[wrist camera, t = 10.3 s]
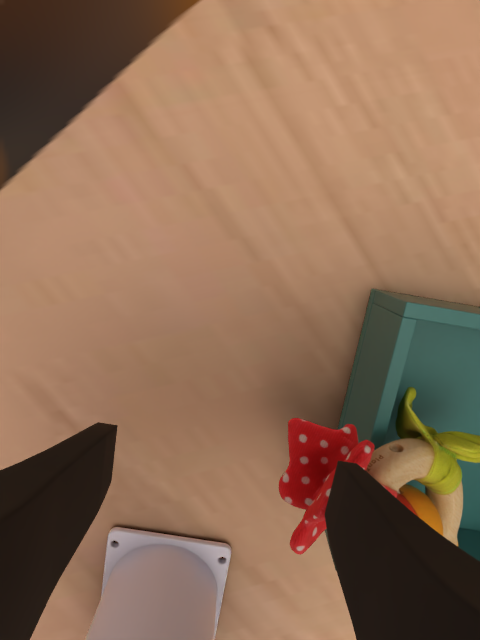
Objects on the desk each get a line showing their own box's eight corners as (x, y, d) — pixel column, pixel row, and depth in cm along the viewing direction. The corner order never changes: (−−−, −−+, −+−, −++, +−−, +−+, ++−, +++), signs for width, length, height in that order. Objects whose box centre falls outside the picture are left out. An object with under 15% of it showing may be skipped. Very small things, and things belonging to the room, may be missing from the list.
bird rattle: (539, 565, 18) (537, 384, 16) (392, 764, 12) (364, 514, 10) (414, 501, 23) (403, 359, 21) (271, 618, 17) (240, 436, 15)
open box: (504, 536, 24) (564, 605, 20) (317, 508, 24) (335, 571, 20) (582, 324, 22) (675, 347, 17) (371, 288, 21) (407, 301, 17)
